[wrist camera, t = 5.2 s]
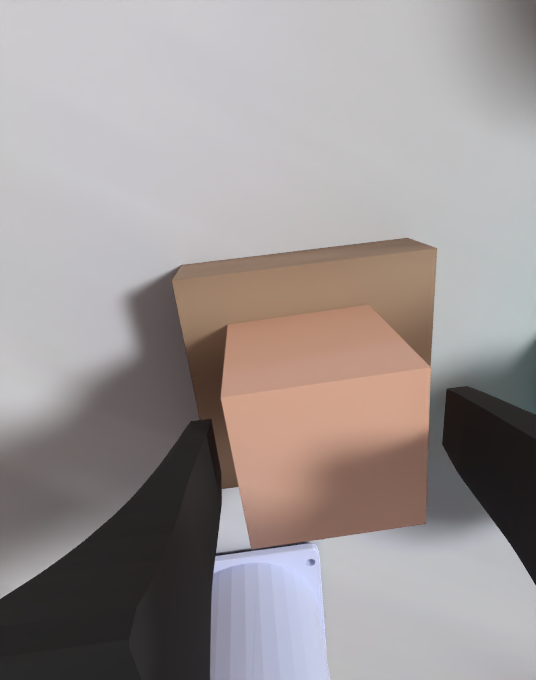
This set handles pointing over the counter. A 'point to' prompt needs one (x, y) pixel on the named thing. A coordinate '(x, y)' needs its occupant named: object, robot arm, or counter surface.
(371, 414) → the cube
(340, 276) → the slab
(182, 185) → the counter surface
